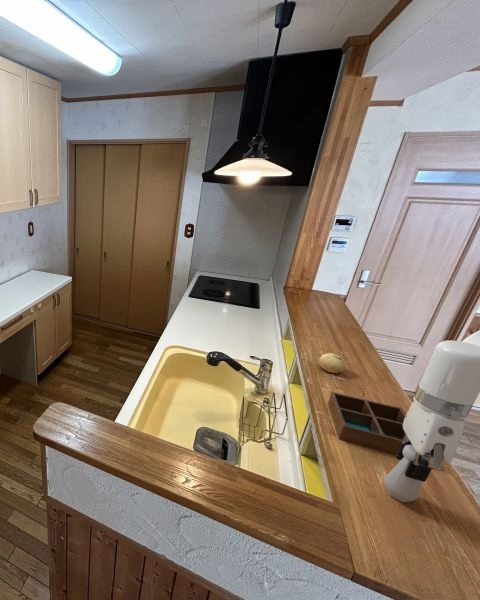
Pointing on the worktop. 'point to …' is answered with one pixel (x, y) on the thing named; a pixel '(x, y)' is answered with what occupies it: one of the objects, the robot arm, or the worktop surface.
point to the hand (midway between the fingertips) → (409, 468)
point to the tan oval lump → (331, 363)
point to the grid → (367, 422)
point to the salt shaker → (403, 478)
